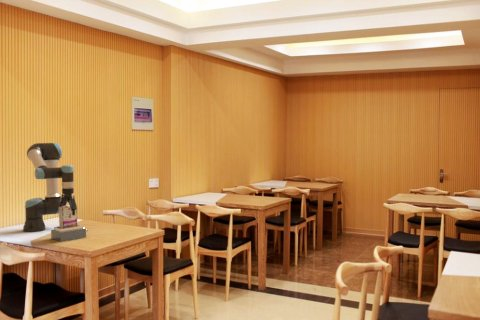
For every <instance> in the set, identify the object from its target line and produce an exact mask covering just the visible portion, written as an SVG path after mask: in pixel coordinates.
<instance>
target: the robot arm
mask: <svg viewBox="0 0 480 320" xmlns="http://www.w3.org/2000/svg"><path fill="white" fill-rule="evenodd" d="M26 157H27V158H28V160H29V161H31V163H32V165H33V168H34V179H36V180H45V183H46V194H45V196H44V199H43V198H42V197H34V198H30V199H27V200H26V201H25V205H24V208H25V222H24V224H23V227H22V228H23V230H22V231H23V232H25V233H33V232H34V233H35V232H42V231H44V230H46V224H45V221H44V218H43V217H44V216H48V215H57V214H58V215H59V207H60V206H66V205H70V207H71V220H75V210H77V211H78V207H77V206H76V205H77V203H76V200H75V199H76V198H75V195H73V194H75V191H74V186H75V185H74V182H75V181H74V172H75V171H74V165H72V164H63V165H61V166H59V167H58V163H59V162H60V159H61V158H62V157H63V151H62V147H61V145H60V144H59V143H58V142H38V143H37V142H36V143H34V144H33V143H32V144H31V145H30V146H29V147H28V148H27V151H26ZM59 179H61V194H60V190H59V189H60V186H59Z"/></svg>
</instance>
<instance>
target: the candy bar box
mask: <svg viewBox="0 0 480 320" xmlns="http://www.w3.org/2000/svg"><path fill="white" fill-rule="evenodd" d="M76 206H77V204H76ZM58 222H59V223H58V224H59V227H60V229H63V228H70V227H77V224H78V209H77V210H75V220H71V207H70V205H69V204H66V206H60V207H59V214H58Z"/></svg>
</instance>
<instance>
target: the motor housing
mask: <svg viewBox="0 0 480 320" xmlns="http://www.w3.org/2000/svg"><path fill="white" fill-rule="evenodd" d="M88 231H89V229H88V228H86V227H85V226H84V225H82V224H78V223H77V227H70V228H63V229H60V227H59V226H54V227H53V229H51V230H50V233H51V234H50V236H51V237H50V239H51V240H55V241H58V242H60V243H62V241H63V242H67V241H68V240H69V241H74V240H79V239H85V237H86V238H87V232H88ZM73 239H74V240H73Z"/></svg>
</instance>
